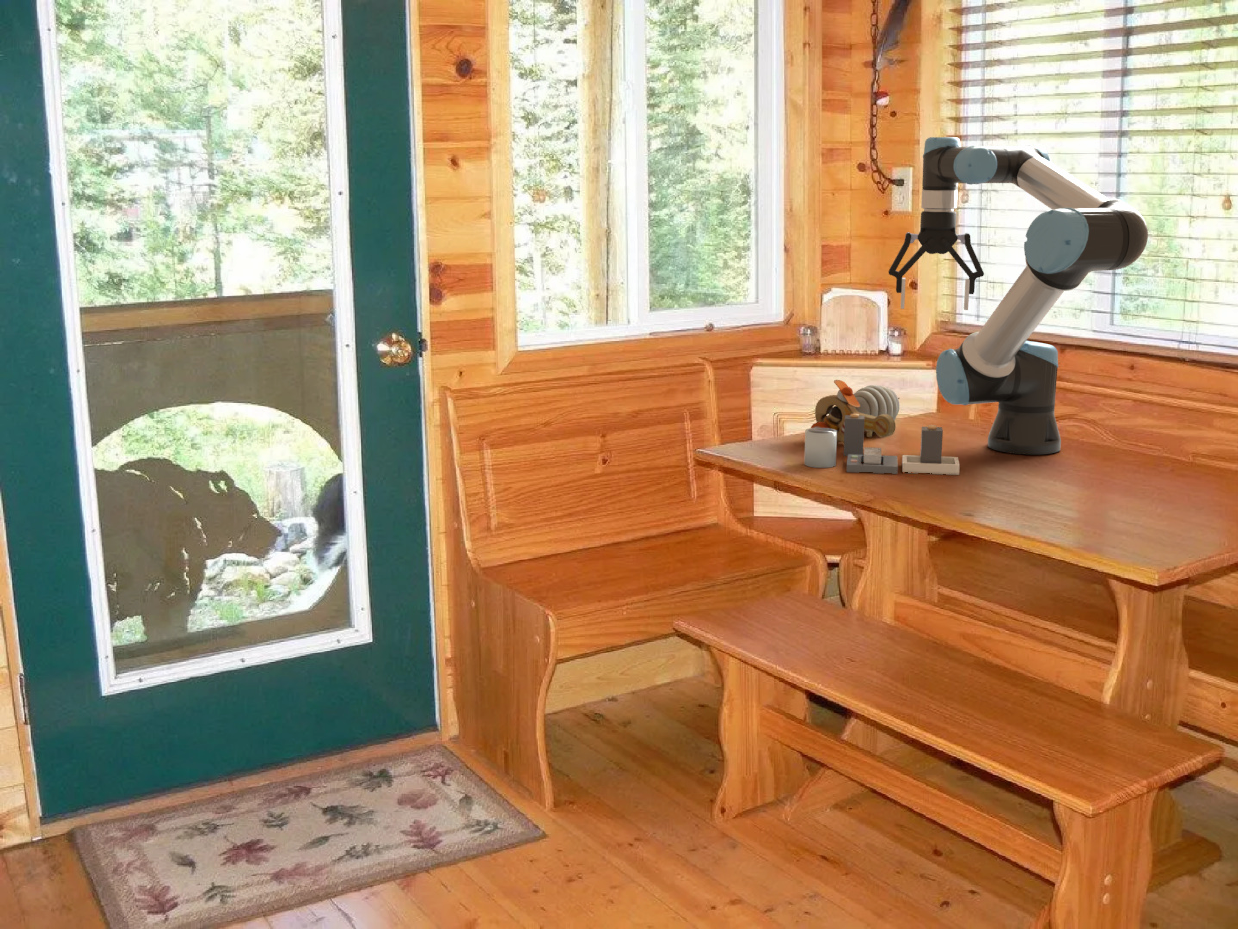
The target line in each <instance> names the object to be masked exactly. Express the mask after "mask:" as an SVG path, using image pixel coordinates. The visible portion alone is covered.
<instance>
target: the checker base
mask: <svg viewBox="0 0 1238 929" xmlns="http://www.w3.org/2000/svg"><path fill="white" fill-rule="evenodd" d="M898 461H899V460H898V455H882V454H881V463H883V464H881V465H870V464H864V463H861V462H864V454H863V455H858V454H848V456H847V460H846V473H859V472H873V473H872V474H884V473H892V474H891V475H898V470H899V466H898V464H899V463H898Z"/></svg>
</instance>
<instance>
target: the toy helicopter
mask: <svg viewBox="0 0 1238 929" xmlns="http://www.w3.org/2000/svg"><path fill="white" fill-rule="evenodd" d="M833 383H834V384H835V385H836V387H837V388H838V391H837V394H830V395H827V396H823V397H822V398H820V399H819V400H818V401H817V403H816V405H815V408H814V412H815V413H814V415H815V416H814V417H815V421H816V422H815V423H813V424H812V425H811V426H810V428H830V429H834V430H836V431H837V442H841V443H842V444H844V428H845V415H850V414H859V416H864V430H869V431H874V432H873V433H875V434H876V436H879V437H881V438H887V437H890V436H892V435H894V434H895V432H896V428H897V427H896V420H895V421H894V419H893V418H892V417H891V416H890V415H888V414H882V415H879V416H877V417H876V416H872V415H867V414H863V413H859V412H858V411H857V410H856V408H855V407H860V404H859V403H858V401H857V400H856V398H855V396H854V395H853V394H854V392H853V388H851V387H850V386H848V384H847V383H846V382H845V381H843V380H841V379H834V380H833Z"/></svg>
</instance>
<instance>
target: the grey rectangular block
mask: <svg viewBox="0 0 1238 929" xmlns="http://www.w3.org/2000/svg"><path fill="white" fill-rule="evenodd" d="M863 455H864V463H863V464H870V465H882V464H881V455H882V447H866V446H863Z"/></svg>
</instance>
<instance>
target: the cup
mask: <svg viewBox="0 0 1238 929" xmlns="http://www.w3.org/2000/svg"><path fill="white" fill-rule="evenodd" d="M804 432H805V434H804V460H803V463H804V466H807V467H809V468H818V469H819V468H820V469H827V468H828V469H829V468H834V467H836V465H837V447H838V446H837V444H838V443H837V442H838V441H837V431H836V430H834V429H830V428H811V427H810V428H807V429H805V431H804ZM833 466H834V467H833Z"/></svg>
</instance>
